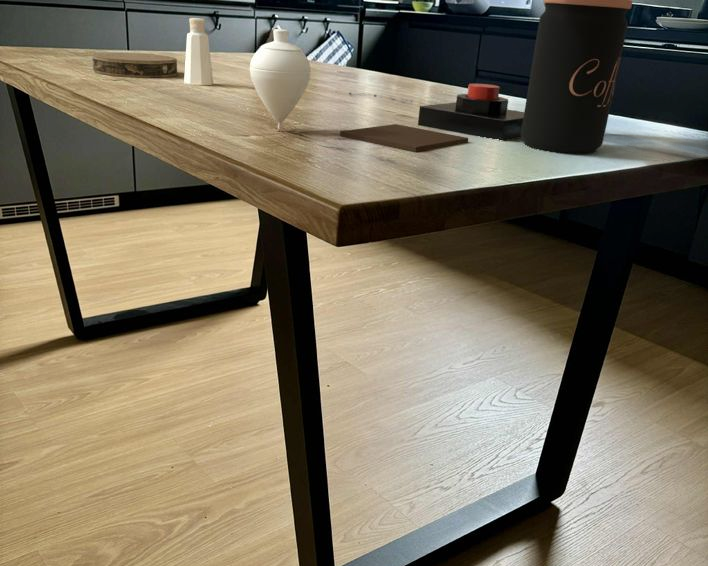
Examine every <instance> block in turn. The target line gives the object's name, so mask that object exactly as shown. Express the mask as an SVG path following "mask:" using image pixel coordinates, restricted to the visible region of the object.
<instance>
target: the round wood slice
mask: <svg viewBox="0 0 708 566" xmlns="http://www.w3.org/2000/svg"><path fill="white" fill-rule="evenodd" d="M91 57H92V68H93V72H94V73H96V74H100V75H105V76H112V77H122V78H142V79H144V78H147V79H149V78H150V77H162V78H172V77H176V76H177V75H178V60H177V58H176V57H175V56H170V55H164V54H153V53H141V52H95V53H92V54H91ZM171 76H172V77H171Z"/></svg>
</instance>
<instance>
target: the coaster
mask: <svg viewBox="0 0 708 566" xmlns="http://www.w3.org/2000/svg"><path fill="white" fill-rule="evenodd" d="M339 134H340V135H339V137H344V138H349V139H351V140H352V139H353V140H357V141H361V142H362V141H363V142H367V143H370V144H371V143H372V144H377V145H381V146H386V147H390V148H395V149H400V150H404V151H409V152H414V153H418V152H423V151H428V150H429V151H430V150H434V149H439V148H445V147H451V146H455V145H456V146H457V145H461V144H466V143H467V144H468V143H469V137H467V136H461V135H455V134H449V133H446V132H445V133H444V132H439V131H434V130H429V129H424V128H419V127H413V126H408V125H404V124H398V123H393V124H384V125H377V126H369V127H361V128H356V129H355V128H353V129H346V130H340V132H339Z"/></svg>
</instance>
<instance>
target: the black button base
mask: <svg viewBox="0 0 708 566" xmlns="http://www.w3.org/2000/svg"><path fill="white" fill-rule="evenodd" d="M467 94H468V93H460V94H459V93H458V94H457V95H456V100H455V102H446V103H438V104H427V105H419V110H418V112H419V113H418V119H417V126H421V127H425V128H429V129H435V130H442V131H446V132H453V133H458V134H462V135H468V136H473V137H478V136H480V137H479V138H484V137H486V138H485V139H489V138H492V139H491V140H494V139H499V140H498V141H500V140H504V141H507V140H506V139H509V140H513V139H512V138H515V139H519V138H518V137H520V138H521V130H522V124H523V118H524V111H519V110H514V109H508V107H509V99H508V98H506V97H503V96H498V100H484V99H475V98H469V97H467Z"/></svg>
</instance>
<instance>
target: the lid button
mask: <svg viewBox="0 0 708 566" xmlns="http://www.w3.org/2000/svg"><path fill="white" fill-rule="evenodd" d="M500 88H501V87H500V86H498V85H495V84H489V83H469V84H468V87H467V93H466V94H467V97H469V98H475V99H484V100H498V97H500V96H499V95H500Z"/></svg>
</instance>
